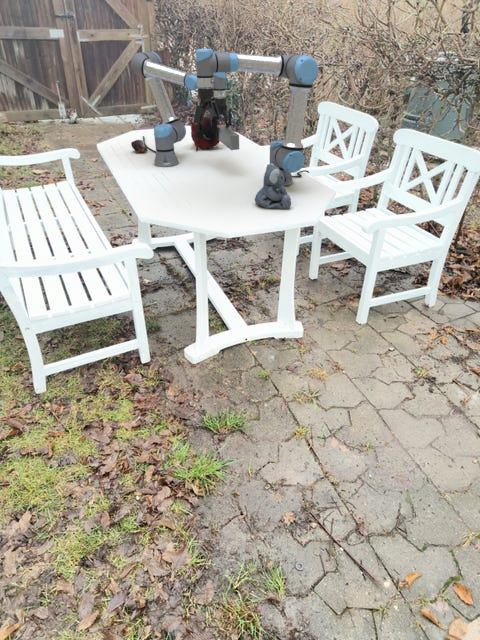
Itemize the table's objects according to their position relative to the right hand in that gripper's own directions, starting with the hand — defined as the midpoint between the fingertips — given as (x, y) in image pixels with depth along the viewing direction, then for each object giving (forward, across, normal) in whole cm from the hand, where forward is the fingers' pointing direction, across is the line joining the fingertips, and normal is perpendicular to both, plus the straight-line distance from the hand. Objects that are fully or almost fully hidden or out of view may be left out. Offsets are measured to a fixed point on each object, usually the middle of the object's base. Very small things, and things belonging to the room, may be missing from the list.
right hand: (207, 136), depth 220 cm
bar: (+16, +53, +18) cm, 58 cm away
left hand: (+16, +62, +28) cm, 70 cm away
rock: (+32, +61, +95) cm, 117 cm away
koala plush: (+32, +7, -32) cm, 46 cm away
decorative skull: (+32, +95, +59) cm, 116 cm away
